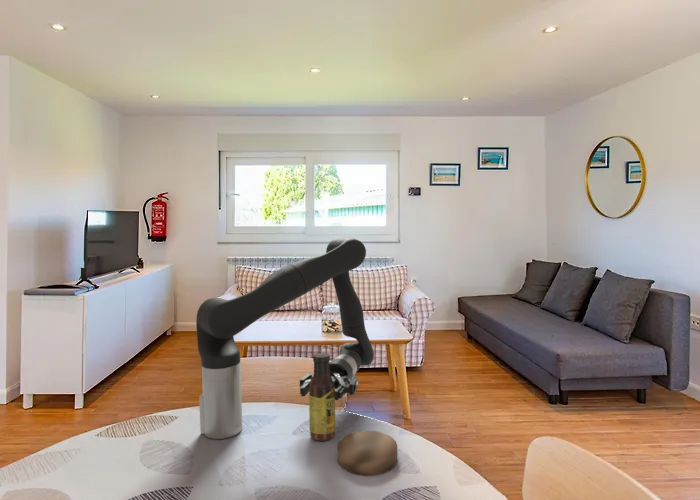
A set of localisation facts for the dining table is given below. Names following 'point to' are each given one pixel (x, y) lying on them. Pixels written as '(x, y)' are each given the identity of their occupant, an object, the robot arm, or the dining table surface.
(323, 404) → the sauce bottle
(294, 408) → the dining table surface
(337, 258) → the robot arm
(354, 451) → the tan flat disc
